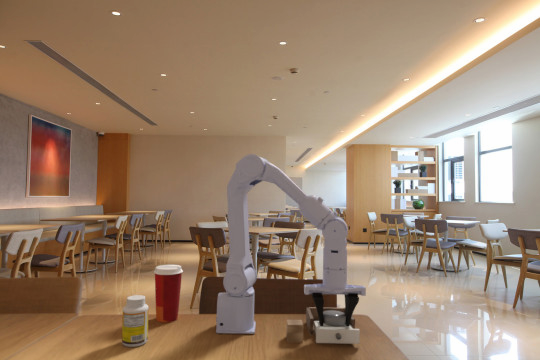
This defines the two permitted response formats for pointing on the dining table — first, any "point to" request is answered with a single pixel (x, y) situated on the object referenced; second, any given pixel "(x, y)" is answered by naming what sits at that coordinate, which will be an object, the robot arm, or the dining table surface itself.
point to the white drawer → (336, 334)
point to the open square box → (313, 316)
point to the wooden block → (295, 331)
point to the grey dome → (334, 318)
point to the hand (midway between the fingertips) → (334, 324)
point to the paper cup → (167, 292)
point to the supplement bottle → (135, 321)
